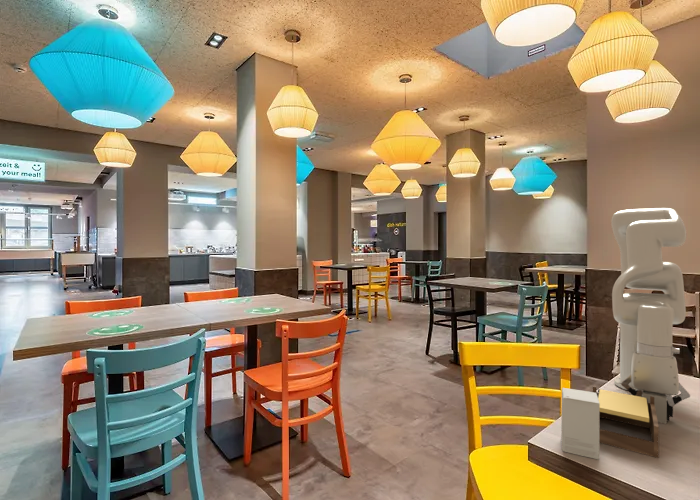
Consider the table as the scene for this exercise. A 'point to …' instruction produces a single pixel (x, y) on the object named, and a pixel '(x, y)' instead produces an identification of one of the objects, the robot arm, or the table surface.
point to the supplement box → (580, 423)
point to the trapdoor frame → (628, 441)
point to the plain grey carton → (658, 405)
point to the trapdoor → (623, 405)
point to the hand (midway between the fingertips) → (653, 415)
